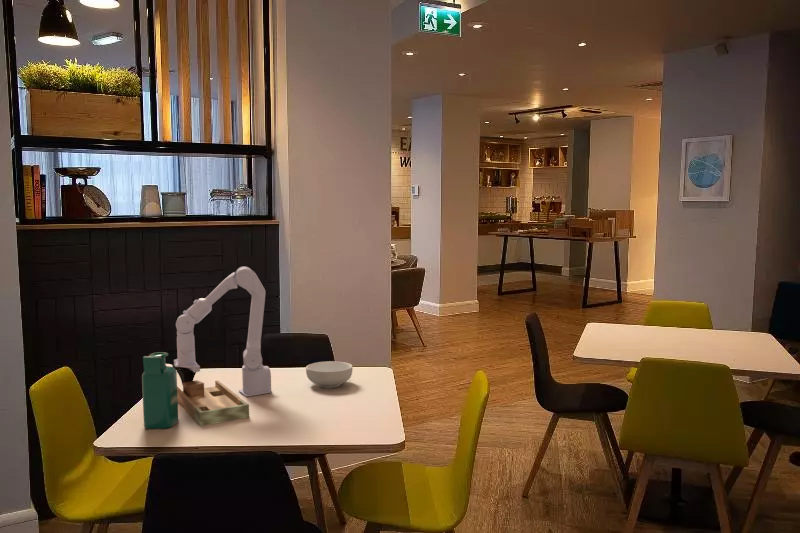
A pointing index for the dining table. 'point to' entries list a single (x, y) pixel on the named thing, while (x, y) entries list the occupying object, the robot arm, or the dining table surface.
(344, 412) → the dining table surface
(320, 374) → the cereal bowl
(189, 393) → the block
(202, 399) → the trap box
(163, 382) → the green bottle
